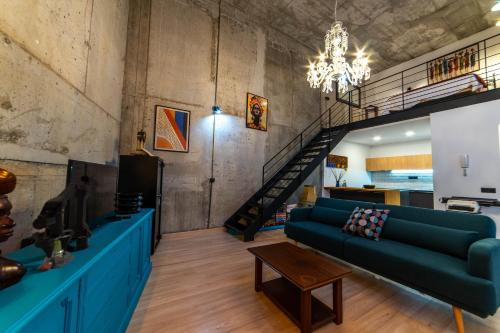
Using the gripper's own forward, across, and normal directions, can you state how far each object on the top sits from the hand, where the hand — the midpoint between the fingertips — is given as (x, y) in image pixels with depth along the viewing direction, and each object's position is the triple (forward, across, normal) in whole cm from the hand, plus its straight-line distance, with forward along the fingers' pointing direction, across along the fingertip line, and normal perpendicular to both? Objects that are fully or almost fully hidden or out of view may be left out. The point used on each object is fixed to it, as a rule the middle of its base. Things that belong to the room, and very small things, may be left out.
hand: (56, 254), depth 103 cm
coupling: (+4, 0, 0) cm, 4 cm away
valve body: (+5, 0, 0) cm, 5 cm away
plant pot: (+5, -14, -10) cm, 18 cm away
